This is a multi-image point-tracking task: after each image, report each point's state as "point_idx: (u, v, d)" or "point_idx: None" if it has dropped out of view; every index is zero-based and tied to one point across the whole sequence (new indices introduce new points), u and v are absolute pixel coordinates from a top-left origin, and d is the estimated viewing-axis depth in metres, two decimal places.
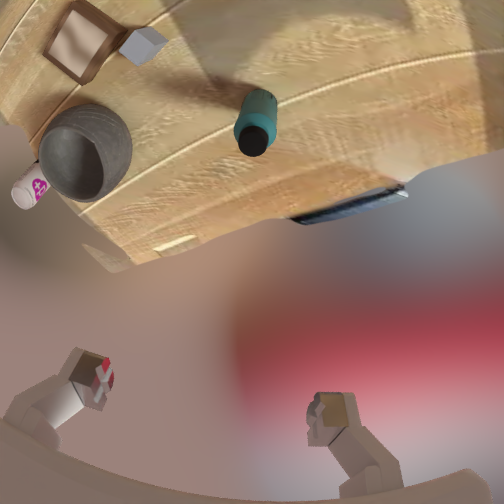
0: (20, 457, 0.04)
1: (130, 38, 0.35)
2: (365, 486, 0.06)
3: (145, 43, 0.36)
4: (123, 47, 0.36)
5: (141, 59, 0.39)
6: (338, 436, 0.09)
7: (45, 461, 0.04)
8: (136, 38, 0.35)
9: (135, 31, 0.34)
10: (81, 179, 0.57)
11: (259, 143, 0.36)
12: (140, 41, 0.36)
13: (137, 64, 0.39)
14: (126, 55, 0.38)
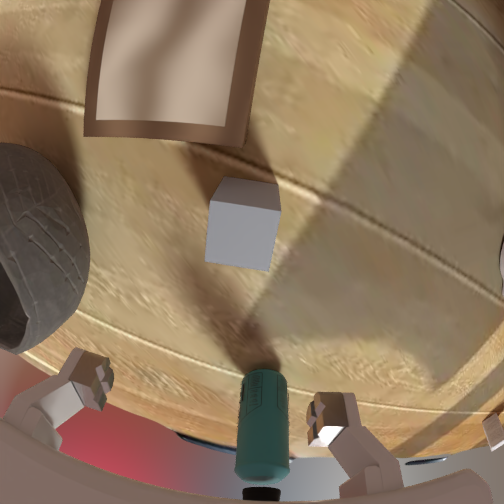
0: (20, 457, 0.04)
1: (256, 212, 0.20)
2: (365, 486, 0.06)
3: (262, 250, 0.22)
4: (225, 208, 0.20)
5: (223, 261, 0.23)
6: (338, 436, 0.09)
7: (45, 461, 0.04)
8: (263, 226, 0.21)
9: (278, 214, 0.20)
10: None
11: None
12: (261, 239, 0.21)
13: (208, 259, 0.22)
14: (212, 225, 0.21)
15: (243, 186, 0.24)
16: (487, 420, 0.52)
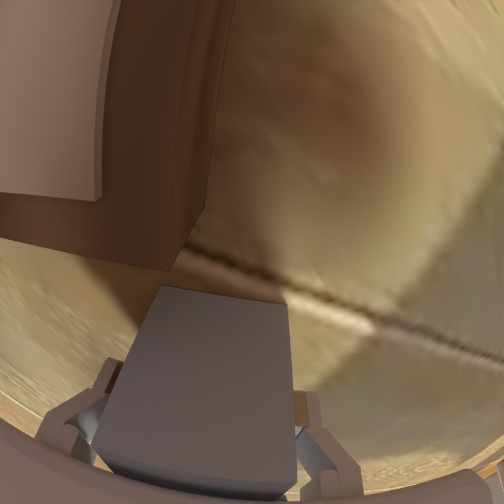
0: (20, 457, 0.04)
1: (223, 481, 0.05)
2: (320, 491, 0.06)
3: None
4: (137, 465, 0.05)
5: None
6: (298, 436, 0.09)
7: (45, 461, 0.04)
8: (245, 492, 0.06)
9: (287, 484, 0.05)
10: None
11: None
12: (241, 498, 0.06)
13: None
14: (118, 470, 0.06)
15: (198, 337, 0.09)
16: (502, 463, 0.38)
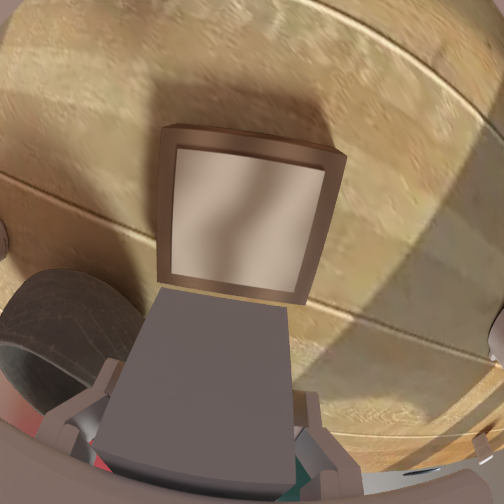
0: (20, 457, 0.04)
1: (222, 483, 0.05)
2: (320, 491, 0.06)
3: None
4: (137, 466, 0.05)
5: None
6: (298, 436, 0.09)
7: (45, 461, 0.04)
8: (245, 493, 0.06)
9: (286, 485, 0.05)
10: None
11: None
12: (241, 499, 0.06)
13: None
14: (119, 471, 0.06)
15: (198, 339, 0.09)
16: (476, 438, 0.58)
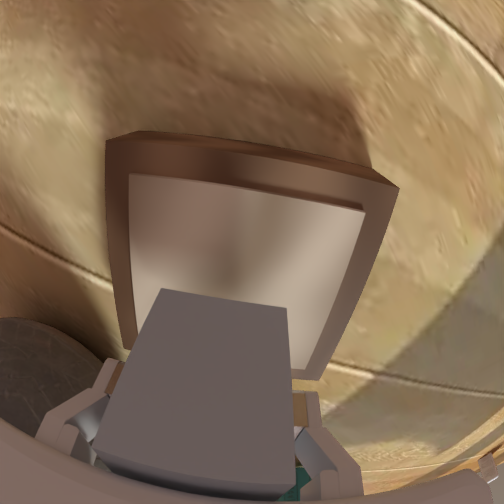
0: (20, 457, 0.04)
1: (222, 483, 0.05)
2: (320, 491, 0.06)
3: None
4: (137, 466, 0.05)
5: None
6: (298, 436, 0.09)
7: (45, 461, 0.04)
8: (244, 493, 0.06)
9: (286, 486, 0.05)
10: None
11: None
12: (241, 499, 0.06)
13: None
14: (119, 472, 0.06)
15: (198, 340, 0.09)
16: (482, 458, 0.51)
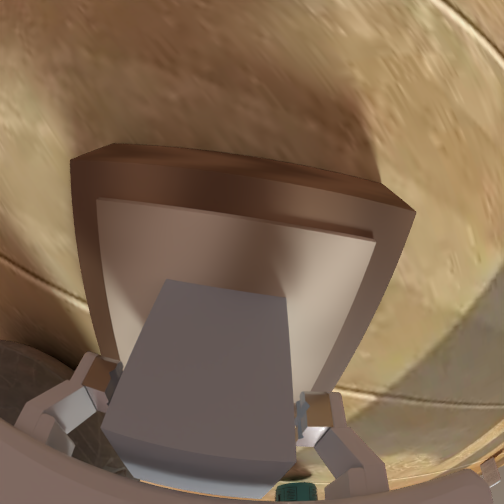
0: (20, 457, 0.04)
1: (226, 461, 0.06)
2: (348, 488, 0.06)
3: (247, 488, 0.07)
4: (144, 446, 0.06)
5: (170, 485, 0.08)
6: (323, 436, 0.09)
7: (45, 461, 0.04)
8: (247, 474, 0.06)
9: (287, 464, 0.06)
10: None
11: None
12: (243, 482, 0.07)
13: (139, 477, 0.08)
14: (125, 455, 0.07)
15: (202, 327, 0.10)
16: (484, 463, 0.49)
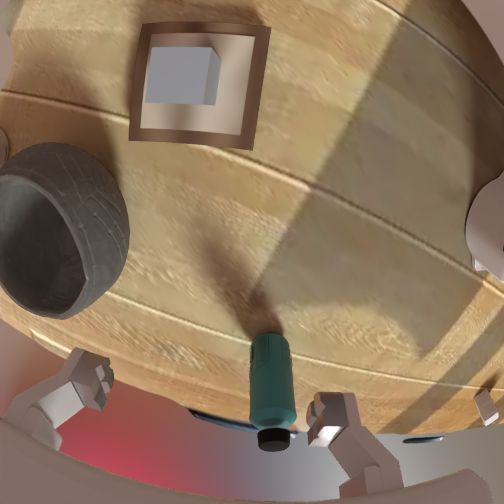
0: (20, 457, 0.04)
1: (189, 51, 0.19)
2: (365, 486, 0.06)
3: (196, 84, 0.20)
4: (164, 51, 0.19)
5: (161, 100, 0.21)
6: (338, 436, 0.09)
7: (45, 461, 0.04)
8: (196, 61, 0.19)
9: (208, 50, 0.19)
10: (16, 237, 0.31)
11: (280, 449, 0.30)
12: (194, 73, 0.20)
13: (148, 100, 0.21)
14: (152, 68, 0.19)
15: None
16: (478, 395, 0.62)
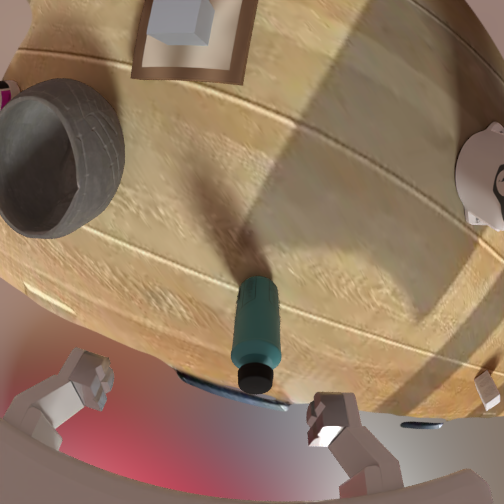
0: (20, 457, 0.04)
1: None
2: (365, 486, 0.06)
3: (189, 17, 0.20)
4: None
5: (160, 31, 0.21)
6: (338, 436, 0.09)
7: (45, 461, 0.04)
8: (190, 1, 0.19)
9: None
10: (19, 172, 0.32)
11: (262, 389, 0.31)
12: (188, 10, 0.20)
13: (149, 31, 0.21)
14: (154, 7, 0.20)
15: None
16: (478, 377, 0.61)
